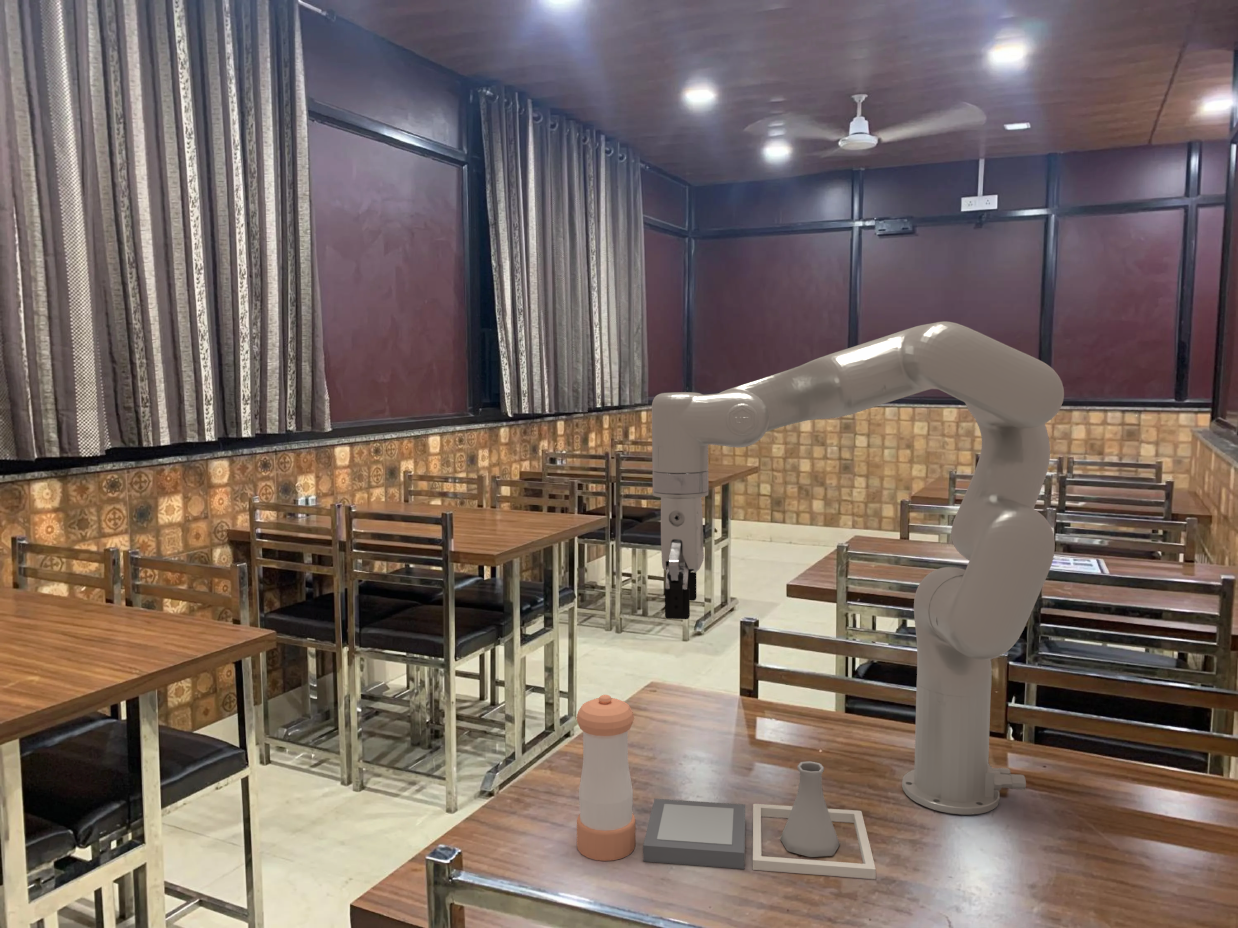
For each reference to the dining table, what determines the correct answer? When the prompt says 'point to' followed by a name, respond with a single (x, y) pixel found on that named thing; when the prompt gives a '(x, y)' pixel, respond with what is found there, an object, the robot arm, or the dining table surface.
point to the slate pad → (696, 833)
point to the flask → (810, 817)
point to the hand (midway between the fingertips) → (681, 608)
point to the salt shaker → (605, 781)
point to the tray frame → (813, 866)
